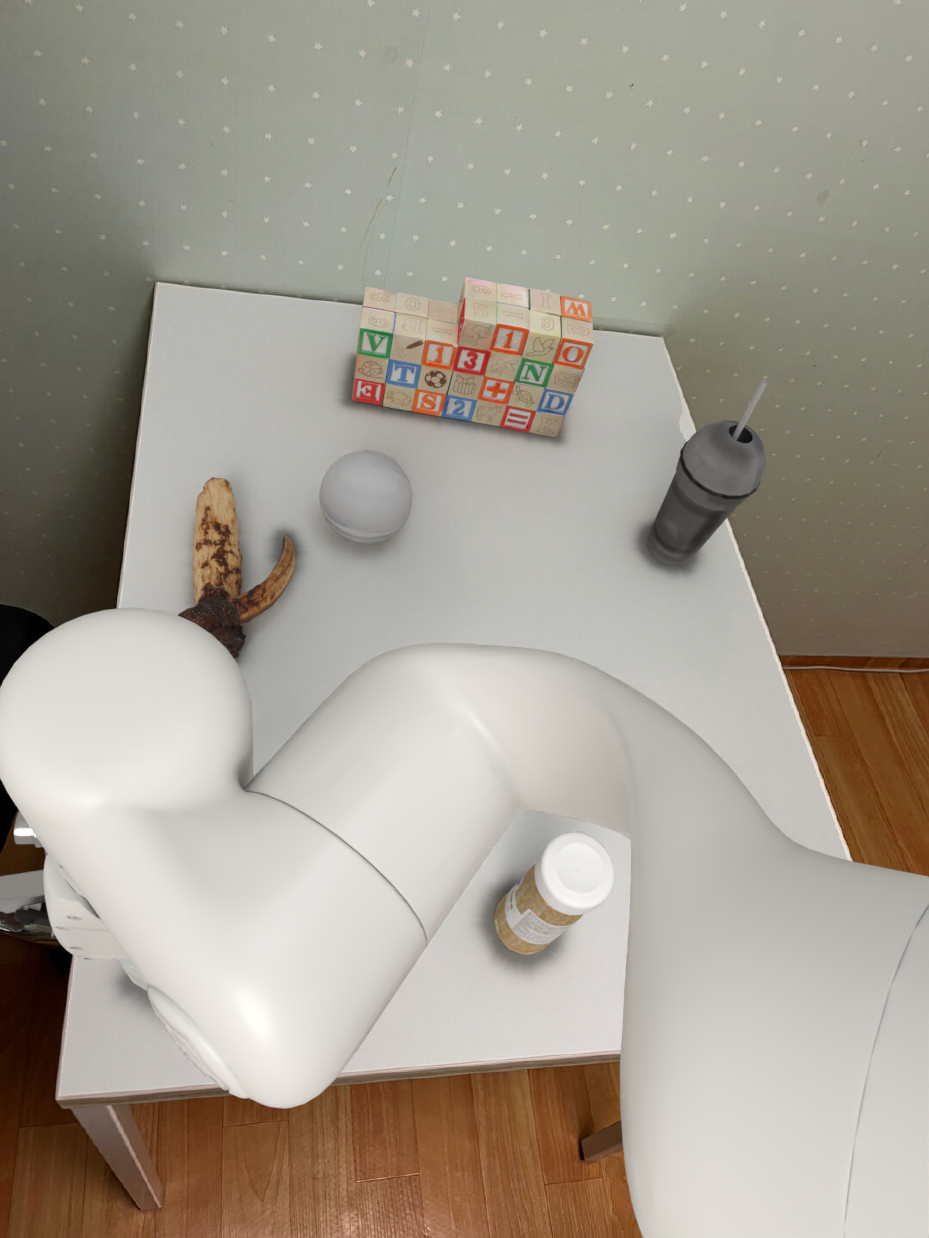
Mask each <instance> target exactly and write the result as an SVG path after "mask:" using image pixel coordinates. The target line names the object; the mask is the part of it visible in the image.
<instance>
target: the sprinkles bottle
mask: <svg viewBox="0 0 929 1238" xmlns="http://www.w3.org/2000/svg"><path fill="white" fill-rule="evenodd" d="M615 882H616V868H615V863H614V860H613V858H612V856H611V854H610V852H609V850H608V849H607V848H606V847H605V846H604V844H603V843H602V842H601V841H600V840H598V838H596V837H594V836H592V835H590V834H588V833H585V832H580V831H568V832H567V831H566V832H562V833H560V834H558V835H556V836H554V837H553V838H551V840H550V841H548V843H547V844H546V845H545V846H544V847H543V848H542V850H541V851H540V852H539V854H538V855H537V857H536V860H535V863H534V864H533V865H532V866H531V867H529V868H528V870H527V871H526V872H525V873H524V874H523V876H522V877H521V878H520V879H518V881H517V882H516V883H515V884H514V885H513V886H512V887H511V889H510V890H509V891H508V893H505V894H504V895H503V897H502V898H501V899H499V902H498V903H497V904H496V908H495V910H494V919H493V924H494V927H495V932H496V934H497V936H498V938H499V940H500V941H501V942H502V943H503V945H504V946H505V947H506V948H507V949H508V950H510V951H512V952H514V953H516V954H518V955H521V956H522V955H523V956H525V955H526V956H532V955H536V954H538V953H541V952H542V951H543V950H545V949H546V948H547V947H548V946H549V945H550V944H551V942H553V941H554V940H556V939H558V937H560V936H562V934H563V933H565V932H566V931H567V930H568V929H570V928H571V927H572V926H573V925H575V924H576V923H577V922H578V921H579V920H580V919H581V918H583V916H584V915H586V914H589V913H591V912H593V911H594V910H596V909H597V908H598V907H599V906H601V905H602V904H603V903H604V902H605V901H606V900H607V899H608V897H609V896H610V895H611V893H612V892H613V890H614V886H615Z"/></svg>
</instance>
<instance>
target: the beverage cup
mask: <svg viewBox="0 0 929 1238" xmlns="http://www.w3.org/2000/svg"><path fill="white" fill-rule="evenodd" d="M768 383H769V381H768V380H766V379H762V380H761V381H760V383H759V385H758V387H757V389H756V391H754V392H755V393H754V394H753V396H752V399H751V400H750V402H749V404H748V406H747V407H746V409H745V411H744V413H743V415H742V417H741V418H740V421H737V420H730V419H729V420H727V419H722V420H718V421H714V422H709V423H708V424H706V425H704V426H702V427H701V428H700V429H699V430H697V431H696V432H694V434H692V435H691V437H690V438H689V439H688V440H687V441H686V442H684V444H683V445H682V447H681V448H680V452H679V457H678V460H677V464H676V467H675V474H674V475H673V478H672V480H671V482H670V485H669V486H668V489H667V491H666V493H665V496H664V498H663V500H662V503H661V505H660V508H659V510H658V512H657V515H656V517H655V519H654V520H653V523H652V525H651V528H650V532H649V535H648V537H647V538H646V546H647V549H648V552H649V553H650V554H651V556H652V557H653V558H654V559H655V560H656V561H657V562H658V563H660V564H663V565H665V566H668V567H681V566H685V565H686V564H687V563H688V562H689V561H690V560H691V558H693V557H694V556H696V554H697V553H698V552H699V551H700V550H701V549H702V548H703V546H704V545H705V544H706V543H707V542H708V541H709V539H711V537H712V536H713V535H714V534H715V533H716V532H717V530H718V529H719V528H720V527H721V526H722V524H723V523H724V522H725V521H726V520H727V519H728V517H729V516H730V515H731V514H732V513H733V512H734V511H735V510H736V509H737V507H739V506H740V505H742V503H744V502H745V501H746V500H747V499H748V498H749V497H751V495H753V494H754V493H756V492H757V490H758V489H759V486H760V484H761V481H762V477H763V476H764V474H765V473H764V472H765V470H766V465H767V463H766V462H767V461H766V460H767V459H766V449H765V446H764V443H763V441H762V439H761V437H760V436H759V434H758V433H757V432H756V430H754V429H753V428H751V427H750V426H749V425H747V422H748V421H749V419H750V417H751V415H752V413H753V411H754V409H755V407H756V406H757V404H758V402H759V400H760V398H761V397H762V395H763V393H764V390H765V389H766V387H767V385H768Z"/></svg>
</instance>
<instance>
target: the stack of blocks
mask: <svg viewBox="0 0 929 1238" xmlns="http://www.w3.org/2000/svg"><path fill="white" fill-rule="evenodd" d="M594 341H595V340H594V324H593V312H592V302H591V301H589V300H585V299H581V298H580V299H579V298H575V297H570V296H565V295H560V293H558V292H553V291H548V290H543V289H538V288H527V287H524V286H519V285H514V284H508V283H507V284H506V283H502V282H498V283H497V282H494V281H490V280H484V279H479V278H473V277H467V276H465V277H464V280H463V284H462V287H461V292H460V295H459V300H458V302H457V303H456V302H451V301H445V300H441V299H435V298H430V297H426V296H422V295H416V294H410V293H405V292H401V291H398V292H397V291H392V290H388V289H383V288H378V287H372V286H365V289H364V296H363V303H362V310H361V317H360V323H359V330H358V336H357V346H356V360H355V367H354V374H353V377H354V378H353V384H352V392H351V400H352V401H354V402H360V403H365V404H366V403H367V404H372V405H379V406H382V407H385V408H391V409H395V410H402V411H409V412H413V413H419V414H423V415H430V416H436V417H442V418H443V417H444V418H448V419H449V418H450V419H454V420H460V421H467V422H473V423H479V424H483V425H489V426H496V427H499V428H504V429H509V430H514V431H519V432H524V433H530V434H534V435H540V436H545V437H550V438H551V437H552V438H557V437H558V436H559V433H560V431H561V427H562V425H563V424H564V421H565V418H566V414H568V413H567V412H568V410H569V407H570V405H571V403H572V401H573V398H574V396H575V394H576V392H577V390H578V388H579V386H580V383H581V381H582V378H583V376H584V373H585V369H586V368H585V367H586V363H587V361H588V358H589V357H590V355H591V352H592V349H593V347H594V344H595V342H594Z"/></svg>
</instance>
